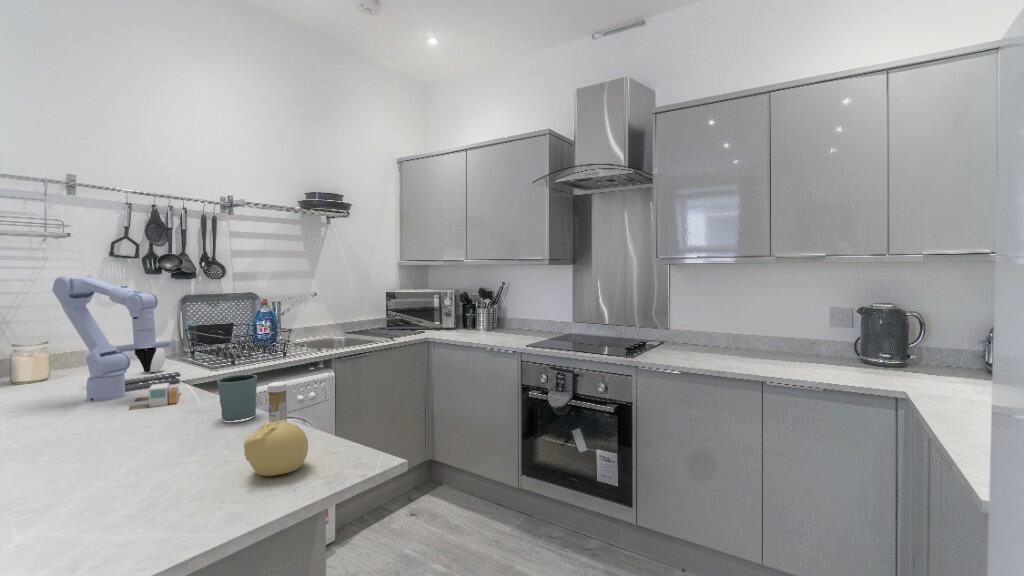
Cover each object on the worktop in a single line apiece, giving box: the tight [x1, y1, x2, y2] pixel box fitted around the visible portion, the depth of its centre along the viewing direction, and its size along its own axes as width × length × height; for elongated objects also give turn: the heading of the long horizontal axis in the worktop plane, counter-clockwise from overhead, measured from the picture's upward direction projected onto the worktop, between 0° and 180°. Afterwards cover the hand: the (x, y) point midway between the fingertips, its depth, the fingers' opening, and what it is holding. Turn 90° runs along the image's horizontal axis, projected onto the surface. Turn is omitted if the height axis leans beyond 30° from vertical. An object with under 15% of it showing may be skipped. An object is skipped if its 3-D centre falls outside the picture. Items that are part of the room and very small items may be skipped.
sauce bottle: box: [142, 338, 166, 373], centre depth 200 cm, size 8×8×18 cm
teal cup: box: [216, 373, 258, 421], centre depth 139 cm, size 10×10×12 cm
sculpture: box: [243, 420, 309, 477], centre depth 103 cm, size 11×12×11 cm
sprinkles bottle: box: [267, 381, 288, 423], centre depth 126 cm, size 5×5×14 cm
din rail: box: [128, 386, 180, 409], centre depth 149 cm, size 12×6×4 cm, turn 121°
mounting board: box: [128, 392, 182, 411], centre depth 152 cm, size 12×16×2 cm
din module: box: [148, 382, 170, 408], centre depth 149 cm, size 4×7×6 cm, turn 31°
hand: (147, 371), depth 155 cm, fingers closed
